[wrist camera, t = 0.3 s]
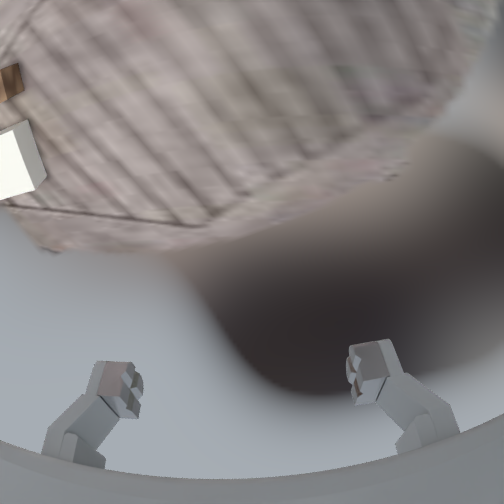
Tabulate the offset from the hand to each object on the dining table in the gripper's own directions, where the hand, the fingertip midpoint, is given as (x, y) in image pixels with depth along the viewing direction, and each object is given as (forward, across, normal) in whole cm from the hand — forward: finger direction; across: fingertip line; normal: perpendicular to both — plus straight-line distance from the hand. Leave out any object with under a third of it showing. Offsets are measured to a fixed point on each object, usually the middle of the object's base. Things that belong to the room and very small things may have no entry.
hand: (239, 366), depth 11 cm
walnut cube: (+37, +35, -16) cm, 53 cm away
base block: (+39, +39, -3) cm, 55 cm away
